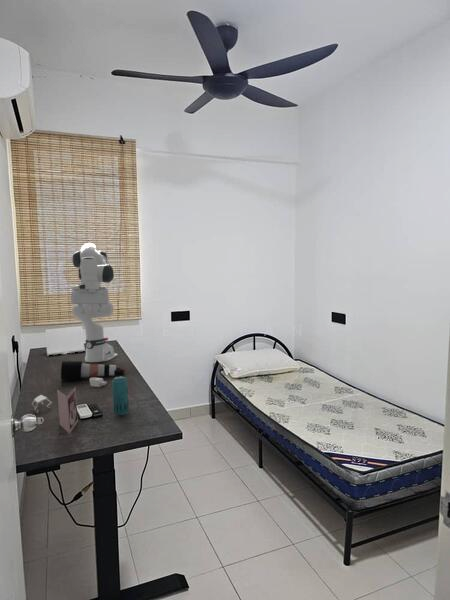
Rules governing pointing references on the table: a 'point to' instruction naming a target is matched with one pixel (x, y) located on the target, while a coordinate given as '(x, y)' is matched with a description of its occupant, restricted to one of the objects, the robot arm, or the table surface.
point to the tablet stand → (64, 340)
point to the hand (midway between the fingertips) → (91, 312)
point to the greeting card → (68, 410)
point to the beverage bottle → (120, 393)
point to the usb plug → (97, 382)
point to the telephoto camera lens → (85, 370)
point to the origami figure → (39, 399)
